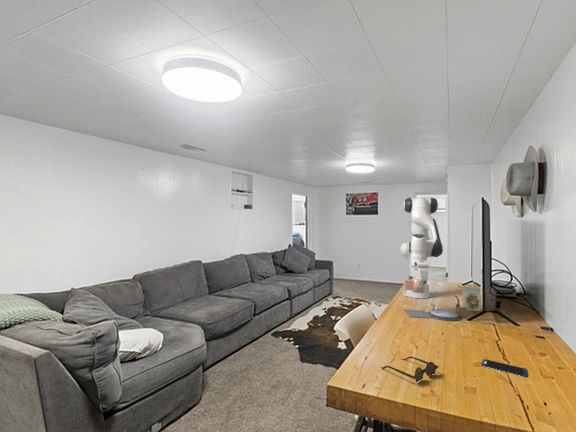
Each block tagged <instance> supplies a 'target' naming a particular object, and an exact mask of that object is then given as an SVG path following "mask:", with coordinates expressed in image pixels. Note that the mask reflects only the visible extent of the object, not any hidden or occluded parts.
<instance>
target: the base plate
mask: <svg viewBox="0 0 576 432" xmlns="http://www.w3.org/2000/svg"><path fill="white" fill-rule="evenodd" d="M427 313H428V315H429V316H431V317H432V318H431V319H435V320H439V321H447V322H457V321H461V318H462V316H458V317H457V318H453V319H449V318H441V317H437V316H434V315H432V314H431V313H430V311H427Z"/></svg>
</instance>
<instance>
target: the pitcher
mask: <svg viewBox="0 0 576 432" xmlns="http://www.w3.org/2000/svg"><path fill="white" fill-rule="evenodd" d="M458 288H460V289H461V291H462V293H463V295H462V303H463V307H466V308H467V311H468V310H469V311H468V312H471V311H479V312H480V311H481V310H482V309H481V295H480V289H481V288H478V287H470V286H461V285H459V286H458Z"/></svg>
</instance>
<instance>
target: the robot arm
mask: <svg viewBox="0 0 576 432" xmlns="http://www.w3.org/2000/svg"><path fill="white" fill-rule="evenodd" d="M438 209H439V202H438V199H437V198H434V197H408V198H407V197H406V198H405V200H404V202H403V210H404V211H405V212H406V213H409V214H411V217H410V218H411V222H410V223H411V224H410V232H411V234H412V235H411V240H410V241H406V242H402V243H401V245H400V247H399V252H400V254H401V255H402V256H403V257H404V258H405V259H406V260H407V262H408V264H409V265H408V266H409V275H408V280H413V277H415V278H416V279H418V280H419V284H418V287H419V288H422V284H423V281H424V293H415V292H413V291H412V290H404V289H403V290H402V293H403V296H404V297H409V298H413V299H429V298H432V295H431V294H430V285H429V284H428V278H429V267H430V264H429V262H428V258H433V257H435V258H438V257H440V256H441V255H443V251H444V247H443V243H442V241H441V237H440V232H439V228H438V224H437V221H436V219H435V218H433V217H432V216H431V215H432V214H434V213H436V212H437V211H438ZM429 231H430V233H431V237H432V238H430V236H429Z"/></svg>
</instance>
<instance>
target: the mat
mask: <svg viewBox="0 0 576 432" xmlns="http://www.w3.org/2000/svg"><path fill="white" fill-rule="evenodd" d="M402 310H403V312H405V313H406V315H408V316H409V318H420V319H433V318H432V317H431V316H429V315H428V312H427V311H425V310H421V309H402Z"/></svg>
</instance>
